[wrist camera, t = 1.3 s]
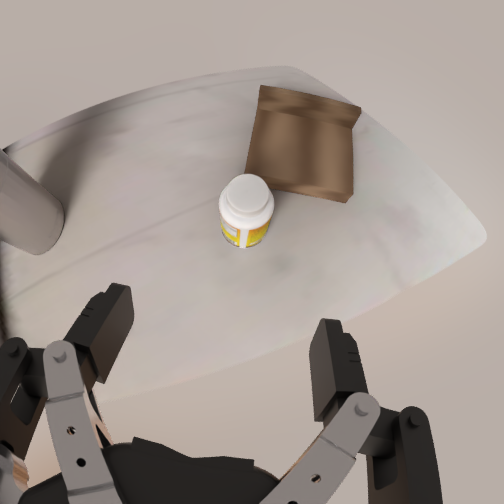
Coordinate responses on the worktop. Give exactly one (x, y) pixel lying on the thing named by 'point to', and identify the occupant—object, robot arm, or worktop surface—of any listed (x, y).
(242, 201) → the supplement bottle
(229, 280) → the worktop surface
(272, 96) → the walnut shelf step
